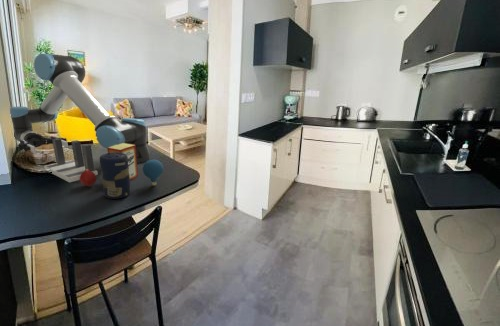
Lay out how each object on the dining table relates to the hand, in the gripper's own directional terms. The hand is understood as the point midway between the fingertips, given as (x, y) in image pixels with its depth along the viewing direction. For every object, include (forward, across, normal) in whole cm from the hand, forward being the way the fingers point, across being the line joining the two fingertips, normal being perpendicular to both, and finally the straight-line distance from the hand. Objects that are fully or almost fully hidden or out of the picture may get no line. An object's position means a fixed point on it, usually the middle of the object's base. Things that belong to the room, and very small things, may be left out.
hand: (51, 147), depth 122 cm
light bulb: (+56, -15, -10) cm, 59 cm away
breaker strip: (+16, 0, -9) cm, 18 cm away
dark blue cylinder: (+53, 0, -10) cm, 54 cm away
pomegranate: (+37, +2, -10) cm, 38 cm away
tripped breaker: (+7, 0, -7) cm, 9 cm away
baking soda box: (+40, -12, -10) cm, 43 cm away
